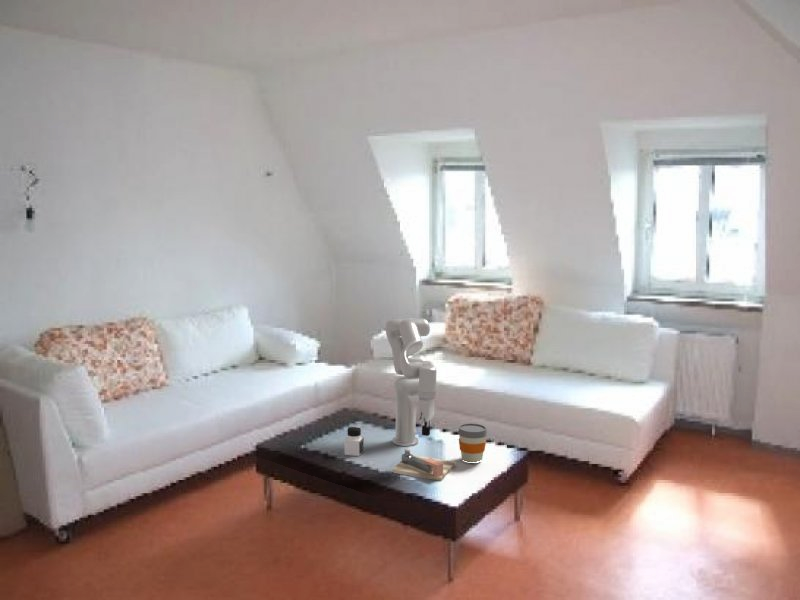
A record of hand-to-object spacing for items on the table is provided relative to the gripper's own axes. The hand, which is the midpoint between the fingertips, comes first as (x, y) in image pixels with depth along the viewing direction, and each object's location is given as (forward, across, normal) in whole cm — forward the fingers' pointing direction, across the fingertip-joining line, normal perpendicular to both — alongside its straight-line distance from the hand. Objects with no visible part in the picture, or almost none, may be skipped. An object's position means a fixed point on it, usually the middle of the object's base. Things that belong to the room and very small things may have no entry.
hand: (425, 434), depth 285 cm
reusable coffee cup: (+13, -12, +18) cm, 25 cm away
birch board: (+13, +6, +2) cm, 14 cm away
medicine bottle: (+14, +1, -34) cm, 37 cm away
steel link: (+11, +8, -1) cm, 14 cm away
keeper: (+11, +12, +8) cm, 18 cm away
